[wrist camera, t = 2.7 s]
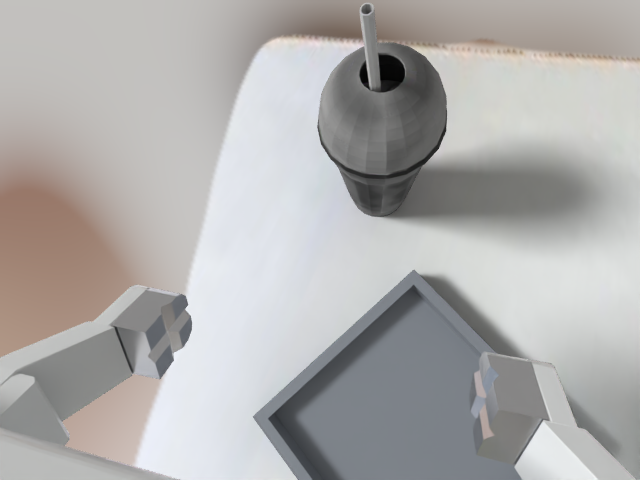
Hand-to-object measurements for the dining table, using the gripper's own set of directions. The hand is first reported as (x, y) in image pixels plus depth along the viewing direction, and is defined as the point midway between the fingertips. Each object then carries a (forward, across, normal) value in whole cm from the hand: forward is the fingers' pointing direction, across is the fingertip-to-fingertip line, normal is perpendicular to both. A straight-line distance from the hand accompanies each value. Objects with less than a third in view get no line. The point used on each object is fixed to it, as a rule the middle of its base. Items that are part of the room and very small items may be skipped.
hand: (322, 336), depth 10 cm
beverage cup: (+23, 0, +6) cm, 23 cm away
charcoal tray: (+10, -5, +18) cm, 21 cm away
